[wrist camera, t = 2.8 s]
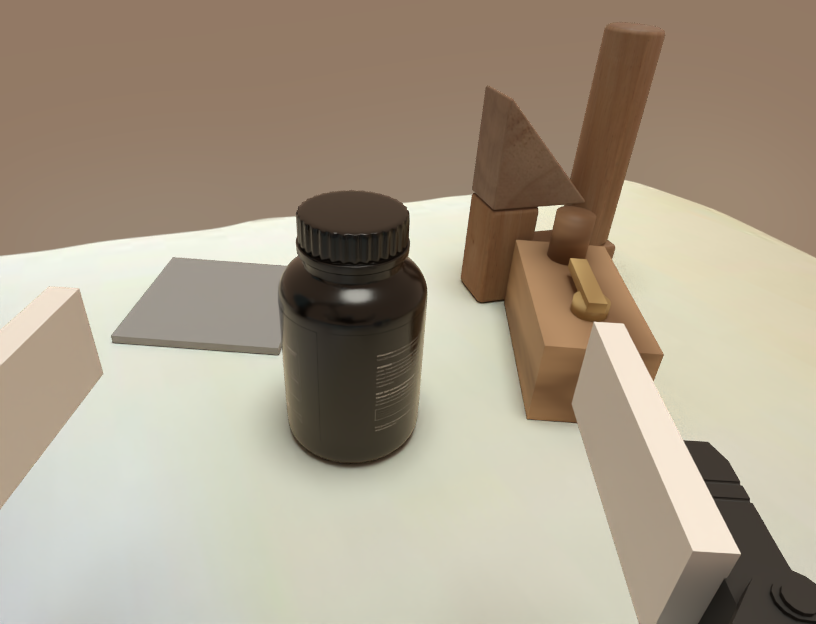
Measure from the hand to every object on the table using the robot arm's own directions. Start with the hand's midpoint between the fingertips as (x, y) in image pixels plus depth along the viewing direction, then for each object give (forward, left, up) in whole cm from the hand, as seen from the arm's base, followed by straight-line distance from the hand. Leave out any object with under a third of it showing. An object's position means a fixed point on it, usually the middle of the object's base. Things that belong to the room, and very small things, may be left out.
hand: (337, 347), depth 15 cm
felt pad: (-11, +21, -13) cm, 26 cm away
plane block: (+12, +18, -13) cm, 25 cm away
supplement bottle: (-1, +11, -13) cm, 17 cm away
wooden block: (+11, +27, -13) cm, 32 cm away
